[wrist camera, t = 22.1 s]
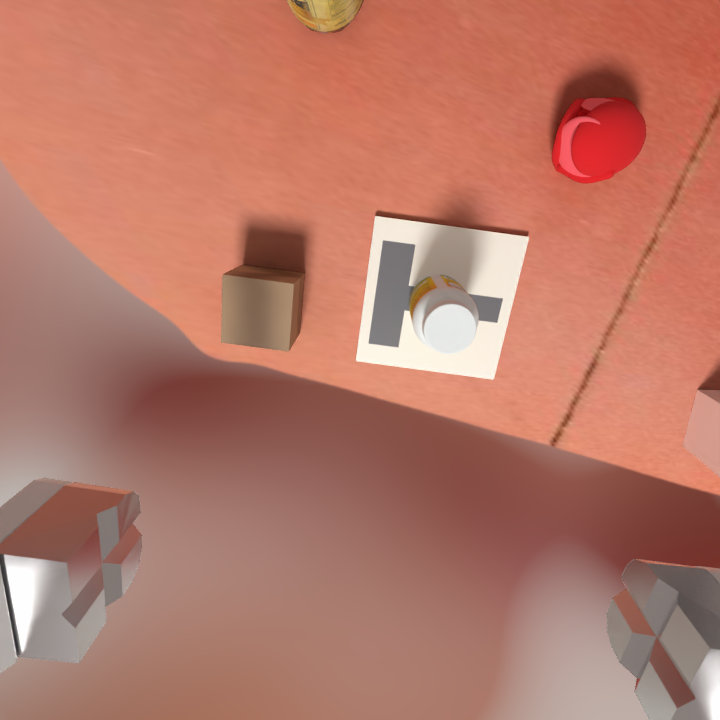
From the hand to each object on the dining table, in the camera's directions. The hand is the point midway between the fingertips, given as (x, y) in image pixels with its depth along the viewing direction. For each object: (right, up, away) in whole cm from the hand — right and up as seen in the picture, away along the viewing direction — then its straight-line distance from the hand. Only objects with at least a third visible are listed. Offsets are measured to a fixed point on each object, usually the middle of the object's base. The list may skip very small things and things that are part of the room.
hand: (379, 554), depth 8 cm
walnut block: (-9, +9, +37) cm, 39 cm away
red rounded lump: (+19, +22, +31) cm, 42 cm away
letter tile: (+7, +9, +36) cm, 38 cm away
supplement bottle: (+7, +9, +36) cm, 37 cm away
